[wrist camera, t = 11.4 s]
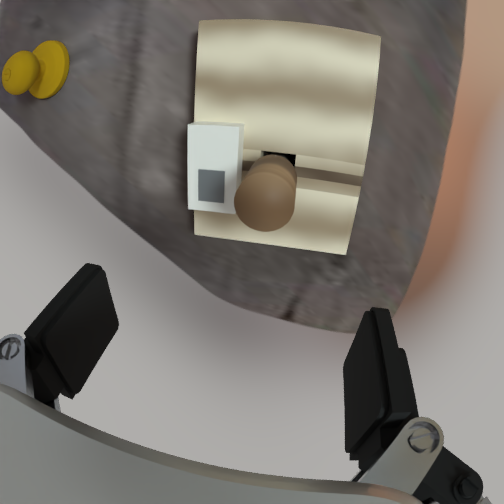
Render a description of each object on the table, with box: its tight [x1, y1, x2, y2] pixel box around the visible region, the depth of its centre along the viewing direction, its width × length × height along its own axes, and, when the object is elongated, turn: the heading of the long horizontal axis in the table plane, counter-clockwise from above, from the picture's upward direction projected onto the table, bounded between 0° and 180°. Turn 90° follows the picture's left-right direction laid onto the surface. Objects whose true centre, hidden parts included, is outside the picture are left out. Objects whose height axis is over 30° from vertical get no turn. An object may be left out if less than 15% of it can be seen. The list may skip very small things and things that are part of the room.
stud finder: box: [188, 121, 245, 214], centre depth 27 cm, size 8×4×2 cm, turn 176°
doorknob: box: [2, 41, 69, 99], centre depth 24 cm, size 8×8×8 cm
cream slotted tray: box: [194, 19, 381, 255], centre depth 27 cm, size 22×16×3 cm
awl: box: [234, 152, 297, 232], centre depth 25 cm, size 4×4×12 cm
